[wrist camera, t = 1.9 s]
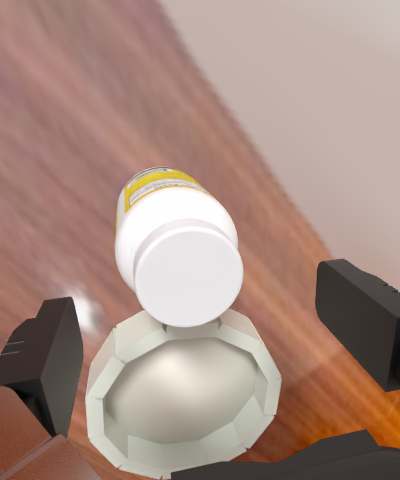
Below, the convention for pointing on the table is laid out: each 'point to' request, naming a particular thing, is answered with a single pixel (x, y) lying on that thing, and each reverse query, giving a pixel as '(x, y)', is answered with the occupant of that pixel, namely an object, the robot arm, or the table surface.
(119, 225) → the supplement bottle
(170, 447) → the sage bowl
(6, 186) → the table surface
